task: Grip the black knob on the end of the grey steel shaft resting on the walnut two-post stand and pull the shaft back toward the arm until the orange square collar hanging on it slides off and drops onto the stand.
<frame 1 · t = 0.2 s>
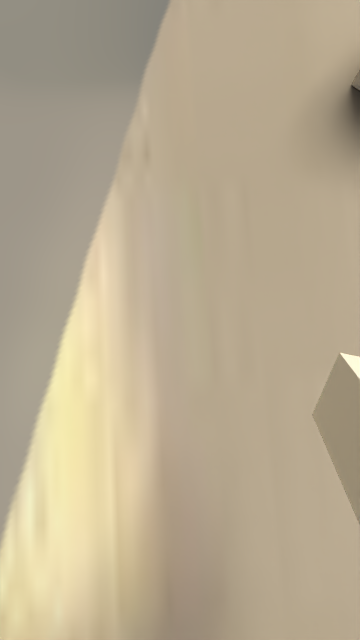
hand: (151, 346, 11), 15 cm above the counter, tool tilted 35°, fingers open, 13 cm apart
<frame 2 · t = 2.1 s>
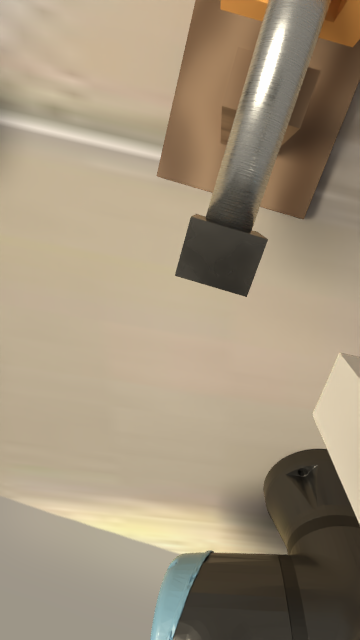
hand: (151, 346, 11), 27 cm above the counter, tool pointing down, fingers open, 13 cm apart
shaft: (287, 38, 16), point 16 cm above the counter, slide at 0.0 cm, touching collar
stand: (266, 79, 30), on the counter
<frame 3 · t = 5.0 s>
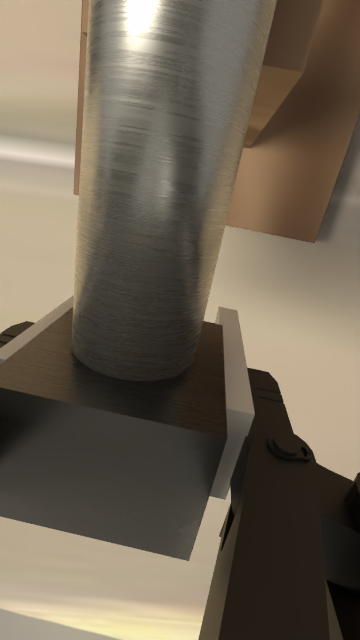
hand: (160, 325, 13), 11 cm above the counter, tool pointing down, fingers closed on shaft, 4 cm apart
stand: (233, 13, 17), on the counter
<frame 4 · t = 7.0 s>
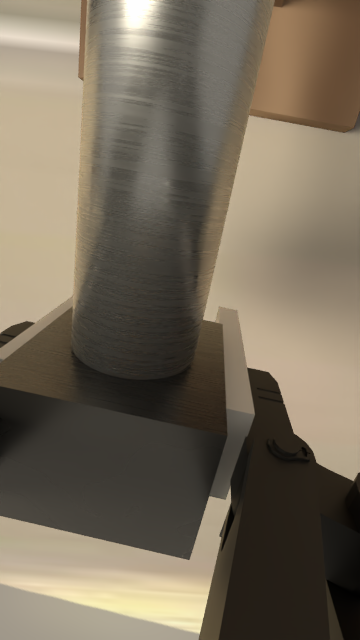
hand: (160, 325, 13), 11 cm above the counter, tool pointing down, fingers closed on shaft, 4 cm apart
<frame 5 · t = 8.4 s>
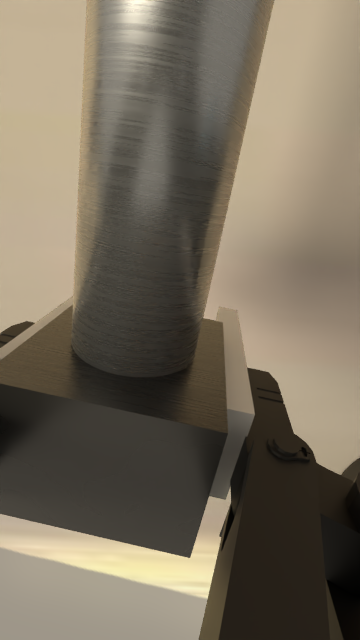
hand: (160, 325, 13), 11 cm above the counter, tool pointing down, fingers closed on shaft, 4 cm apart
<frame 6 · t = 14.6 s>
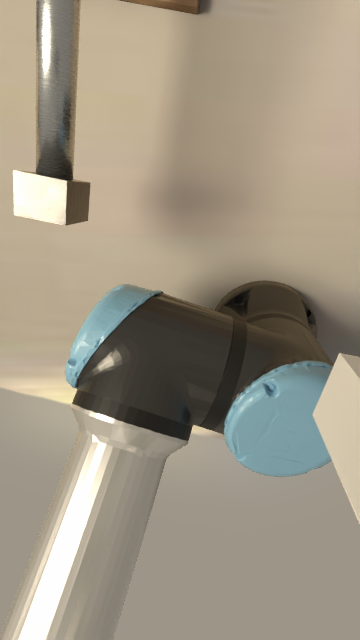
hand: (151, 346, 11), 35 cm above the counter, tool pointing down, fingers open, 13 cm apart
shaft: (57, 37, 24), point 16 cm above the counter, slide at 16.8 cm
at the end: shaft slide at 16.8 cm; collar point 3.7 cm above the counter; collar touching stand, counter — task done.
